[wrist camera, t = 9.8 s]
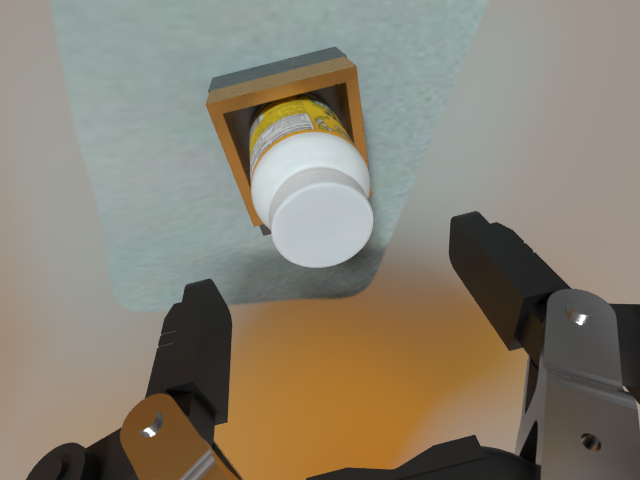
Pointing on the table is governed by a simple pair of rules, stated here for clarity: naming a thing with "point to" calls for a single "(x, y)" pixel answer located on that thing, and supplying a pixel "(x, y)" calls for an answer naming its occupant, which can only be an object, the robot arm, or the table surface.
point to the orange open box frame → (276, 83)
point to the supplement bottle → (309, 182)
